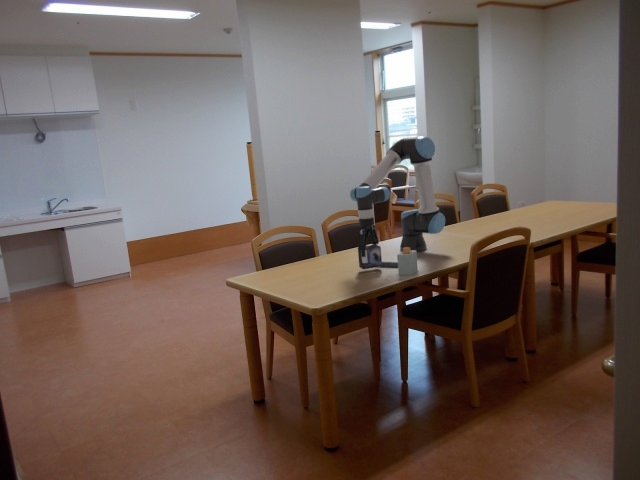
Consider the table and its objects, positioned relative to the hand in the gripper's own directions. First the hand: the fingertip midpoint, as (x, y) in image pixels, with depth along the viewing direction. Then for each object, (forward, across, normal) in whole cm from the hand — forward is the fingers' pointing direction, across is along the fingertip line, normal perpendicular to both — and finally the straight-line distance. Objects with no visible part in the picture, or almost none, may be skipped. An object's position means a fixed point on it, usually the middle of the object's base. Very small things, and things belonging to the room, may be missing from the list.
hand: (370, 259), depth 277 cm
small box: (+4, 0, 0) cm, 4 cm away
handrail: (+6, -9, +6) cm, 12 cm away
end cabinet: (+6, 0, +20) cm, 21 cm away
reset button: (-1, 0, +20) cm, 20 cm away
